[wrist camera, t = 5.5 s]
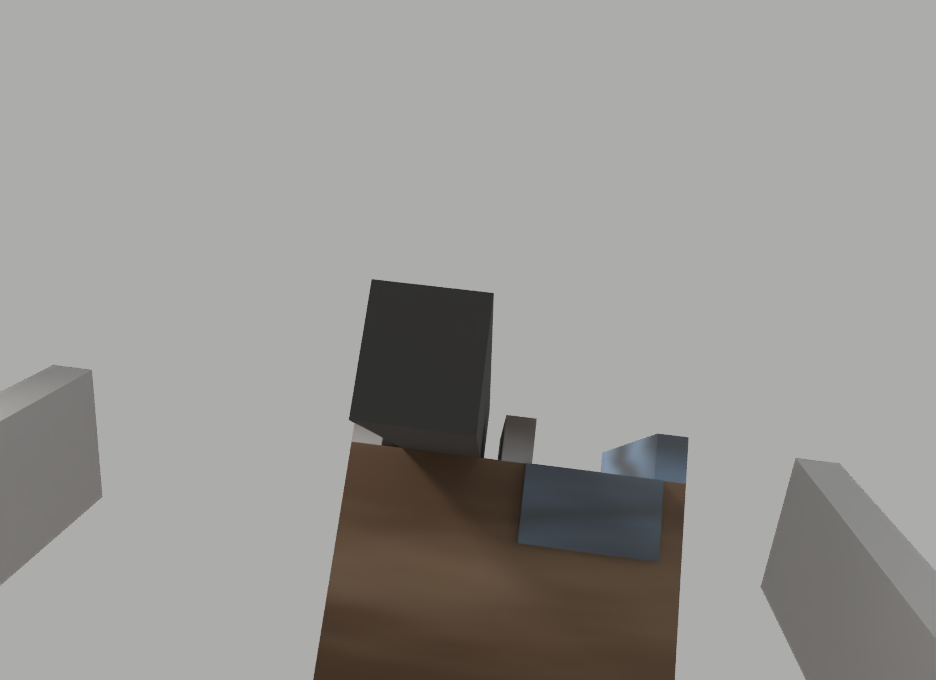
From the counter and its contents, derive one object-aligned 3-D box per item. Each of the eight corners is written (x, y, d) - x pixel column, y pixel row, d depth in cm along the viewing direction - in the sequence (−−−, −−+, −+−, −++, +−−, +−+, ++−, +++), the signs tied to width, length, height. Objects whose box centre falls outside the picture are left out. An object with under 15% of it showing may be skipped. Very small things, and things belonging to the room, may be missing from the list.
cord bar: (476, 435, 14) (493, 292, 14) (349, 420, 14) (371, 279, 15) (482, 469, 34) (489, 410, 35) (430, 463, 34) (438, 403, 35)
